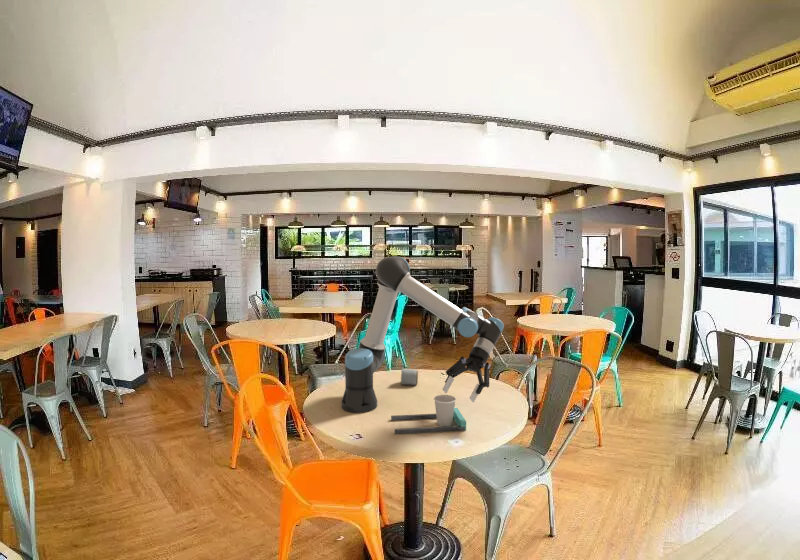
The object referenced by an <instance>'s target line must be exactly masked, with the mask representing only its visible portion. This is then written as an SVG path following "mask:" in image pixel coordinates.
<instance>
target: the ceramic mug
mask: <svg viewBox="0 0 800 560" xmlns="http://www.w3.org/2000/svg"><path fill="white" fill-rule="evenodd" d="M418 380H419V370H417V369H411V368H410V369H409V368H401V375H400V385H405V386H416V385H418V382H419V381H418Z"/></svg>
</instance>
